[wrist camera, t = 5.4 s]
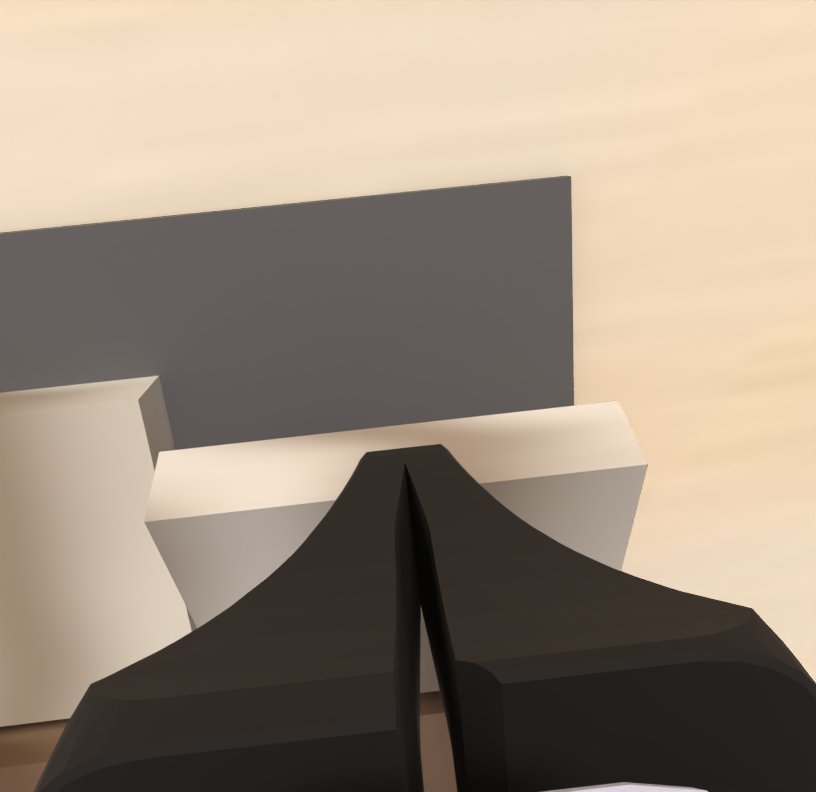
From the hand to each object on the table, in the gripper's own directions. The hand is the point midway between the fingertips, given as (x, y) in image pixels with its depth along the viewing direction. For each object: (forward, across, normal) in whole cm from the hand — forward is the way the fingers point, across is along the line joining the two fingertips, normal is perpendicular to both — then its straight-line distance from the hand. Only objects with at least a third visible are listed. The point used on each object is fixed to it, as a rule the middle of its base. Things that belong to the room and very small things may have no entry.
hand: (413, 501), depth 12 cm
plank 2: (+2, 0, +2) cm, 3 cm away
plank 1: (+4, +9, +2) cm, 10 cm away
